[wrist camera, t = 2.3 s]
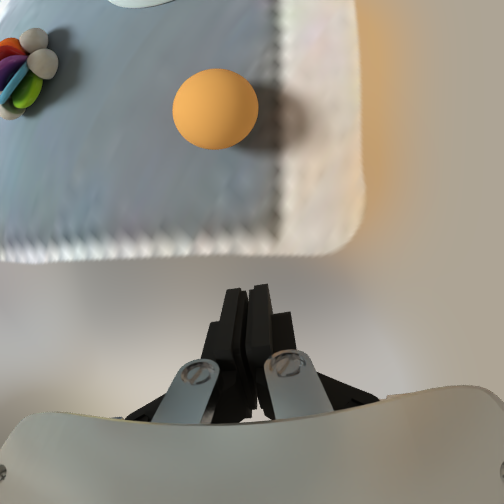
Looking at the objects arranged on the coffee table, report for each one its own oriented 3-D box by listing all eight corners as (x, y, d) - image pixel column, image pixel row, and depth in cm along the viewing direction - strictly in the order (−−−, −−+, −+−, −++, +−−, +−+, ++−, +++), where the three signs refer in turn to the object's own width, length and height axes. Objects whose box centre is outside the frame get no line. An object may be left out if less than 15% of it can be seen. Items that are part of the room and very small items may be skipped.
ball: (178, 88, 20) (154, 72, 15) (251, 73, 20) (248, 49, 14) (191, 156, 22) (170, 159, 17) (264, 141, 22) (266, 139, 16)
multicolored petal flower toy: (47, 23, 16) (7, 8, 9) (71, 75, 19) (24, 64, 12) (3, 76, 18) (-38, 73, 11) (23, 130, 21) (-25, 135, 14)
